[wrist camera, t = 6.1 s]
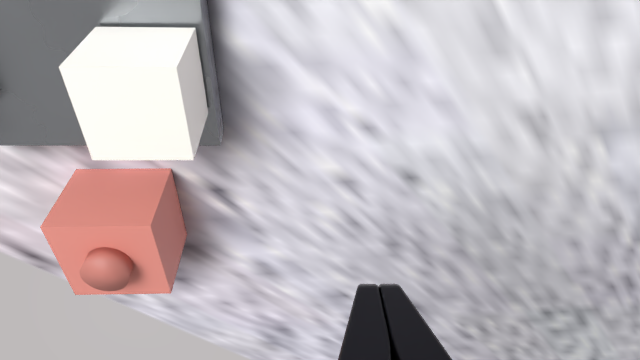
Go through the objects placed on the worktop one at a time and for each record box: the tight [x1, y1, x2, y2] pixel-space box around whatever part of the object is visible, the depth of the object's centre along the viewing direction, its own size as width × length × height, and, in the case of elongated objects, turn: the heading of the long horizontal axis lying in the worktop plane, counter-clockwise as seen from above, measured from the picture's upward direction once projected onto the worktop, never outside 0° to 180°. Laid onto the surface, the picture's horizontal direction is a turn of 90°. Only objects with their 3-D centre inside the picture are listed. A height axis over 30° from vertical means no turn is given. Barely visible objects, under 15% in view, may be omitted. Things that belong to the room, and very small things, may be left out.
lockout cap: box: [40, 169, 187, 295], centre depth 22 cm, size 4×4×5 cm
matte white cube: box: [59, 27, 208, 160], centre depth 16 cm, size 4×4×3 cm
